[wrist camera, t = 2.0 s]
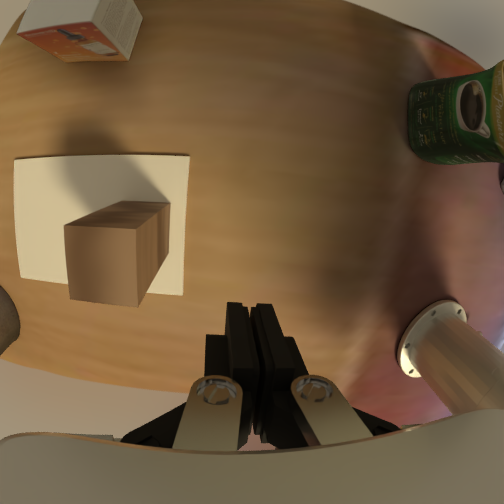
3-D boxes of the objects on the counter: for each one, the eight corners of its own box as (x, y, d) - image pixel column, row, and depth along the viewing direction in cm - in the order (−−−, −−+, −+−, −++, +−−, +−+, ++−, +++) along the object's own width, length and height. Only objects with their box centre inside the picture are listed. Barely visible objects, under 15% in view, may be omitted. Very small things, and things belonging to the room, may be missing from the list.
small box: (66, 63, 23) (13, 35, 13) (81, 20, 21) (37, -18, 11) (130, 62, 24) (90, 22, 14) (145, 17, 22) (116, -34, 12)
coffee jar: (451, 168, 30) (576, 190, 12) (402, 157, 29) (541, 170, 11) (452, 94, 27) (570, 81, 9) (403, 76, 26) (529, 38, 9)
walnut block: (170, 202, 28) (136, 229, 16) (168, 253, 29) (138, 307, 18) (122, 200, 27) (63, 225, 16) (122, 249, 29) (70, 299, 17)
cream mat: (190, 156, 27) (189, 156, 27) (183, 294, 31) (182, 295, 31) (16, 159, 25) (14, 160, 25) (22, 276, 29) (20, 277, 28)
